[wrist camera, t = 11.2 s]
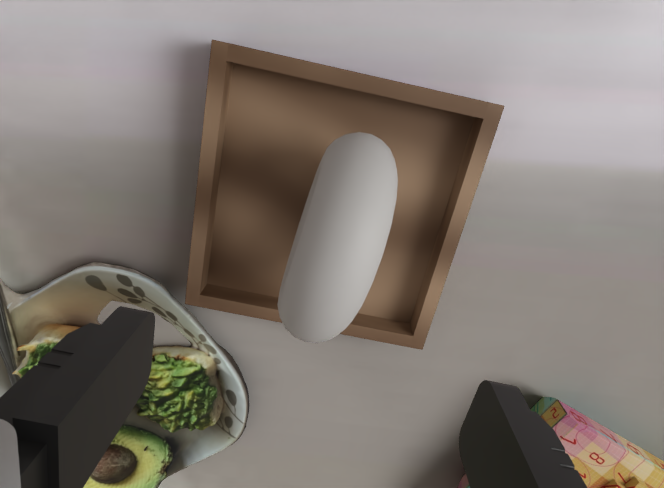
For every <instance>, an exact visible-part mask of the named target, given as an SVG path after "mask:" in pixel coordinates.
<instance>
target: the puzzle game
mask: <svg viewBox="0 0 664 488" xmlns="http://www.w3.org/2000/svg"><path fill="white" fill-rule="evenodd" d="M530 410H531V411H534V412H537V413H538V414H539V415H540V416H541V417H542V418H543V419H544V420H545V421H546V422H547V423H548V424H549V425H550V426H551V427H552V429H553V430H554V431H555V433H556V434H557V436H558V438H559V439H560V441H561V443H562V445H563V446H564V448H565V453H567V454H568V455H569V457H570V458H571V460H572V462H573V464H574V465H575V470H577V471H578V472H579V474H580V476H581V477H582V479H583V481H584V483H585V484H586V486H587V488H664V461H662V460H660V459H659V458H657V457H655V456H653V455H652V454H650V453H648V452H647V451H645V450H643V449H641V448H640V447H638V446H636V445H635V444H633V443H631V442H629V441H628V440H626V439H624V438H623V437H621V436H619V435H617V434H616V433H614V432H612V431H611V430H609V429H607V428H605V427H604V426H602V425H600V424H599V423H597V422H595V421H593V420H592V419H590V418H588V417H587V416H585V415H583V414H581V413H580V412H578V411H576V410H575V409H573V408H571V407H569V406H568V405H566V404H564V403H563V402H561V401H559V400H557V399H555V398H551V397H542V398H541V399H540V400H539V401H538V402H537V403H536V404H535V405H534V406H533V407H532V408H531V409H530ZM457 488H470V486H469V482H468V479H467V476H466V474H465V475H464V476H463V477H462V478H461V481H460V483H459V485H458V487H457Z"/></svg>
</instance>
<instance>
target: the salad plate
mask: <svg viewBox="0 0 664 488" xmlns="http://www.w3.org/2000/svg"><path fill="white" fill-rule="evenodd" d="M110 301H119V302H125V303H130V304H134V305H137V306H139V307H141V308H144V309H147V310H150V311H152V312H154V313H156V314H158V315H159V316H161V317H162V318H163V319H164V320H166V321H168V322H170V323H171V324H172V325H173V326H174V327H175V328H176V329H177V330H178V331H179V332H181V333H182V334H183V335H184V336H185V337H186V338H187V339H188V340H189V341H190V343H191V344H192V346H191V347H182V346H180V345H177V346H171V347H169V346H163V347H155V348H153V353H152V366H151V372H150V376H149V379H148V382H147V385H146V387H145V389H144V391H143V393H142V395H141V396H140V398H139V399H138V401H137V403H136V404H135V406H134V407H133V409H132V411H131V412H130V414H129V415H128V417H127V419H126V420H125V422H124V423H123V425H122V426H121V428H120V430H119V431H118V433H117V434H116V436H115V438H114V439H113V441H112V442H111V444H110V446H109V447H108V449H107V450H106V452H105V454H104V455H103V457H102V458H101V460H100V461H99V463H98V465H97V466H96V468H95V469H94V471H93V473H92V474H91V476H90V477H89V479H88V481H87V482H86V484H85V485H84V487H83V488H158V487H159V485H160V483H161V482H162V481H163V480H164V479H165V478H166V477H168V476H170V475H172V474H174V473H176V472H178V471H180V470H182V469H184V468H187V467H188V466H190V465H192V464H195V463H198V462H200V461H202V460H203V459H205V458H208V457H210V456H212V455H214V454H216V453H218V452H220V451H222V450H223V449H225V448H227V447H228V446H230V445H232V444H233V443H235V442H236V441H237V440H238V439H239V437H240V436H241V435H242V433H243V431H244V429H245V427H246V422H247V418H248V412H249V395H248V390H247V386H246V383H245V381H244V379H243V376H242V373H241V371H240V369H239V367H238V366H237V364H236V362H235V361H234V359H233V357H232V356H231V355H230V354H229V353H228V352H227V351H226V350H225V349H224V348H222V347H221V346H219V345H218V344H217V343H216V342H215V341H214V339H213V338H212V337H211V336H210V335H209V334H208V333H207V332H206V330H205V329H204V327H203V326H202V325H201V324H200V323H199V321H198V320H197V318H196V317H195V316H194V315H193V314H192V313H191V312H190V311H189V310H188V309H187V308H186V307H184V306H183V305H182V304H181V303H180V302H179V301H178V300H176V299H175V298H174V297H173V296H172V295H171V294H170V293H169V292H168V291H167V289H166V288H165V287H164V286H163V285H162V284H161V283H159V282H158V281H156V280H154V279H153V278H151V277H149V276H146V275H144V274H142V273H141V272H138V271H136V270H134V269H130V268H126V267H122V266H117V265H110V264H105V263H101V262H92V263H89V264H85V265H82V266H79V267H77V268H75V269H74V270H73V271H71V272H69V273H67V274H64V275H61V276H59V277H58V278H56V279H53V280H52V281H51V282H50V283H48V284H46V285H44V286H43V287H41V288H40V289H37V290H34V291H32V292H29V293H25V294H19V293H15V292H14V291H12V290H11V289H10V288H8V287H7V286H6V285H5V284H4V282H3V281H2V280H1V279H0V397H1V396H2V395H3V394H5V393H6V392H7V391H8V390H9V389H10V388H11V387H12V386H13V385H14V384H15V383H16V382H17V381H18V380H19V379H20V378H21V377H22V376H23V375H25V374H26V373H27V372H28V371H29V370H30V369H31V368H32V367H33V366H34V365H37V364H38V361H39V360H40V359H41V358H42V357H44V356H45V355H46V354H47V353H48V352H51V349H52V348H53V347H54V346H55V345H56V344H57V343H58V342H59V341H60V340H61V339H62V338H64V337H65V336H66V335H67V334H68V333H70V332H72V331H74V330H76V329H78V328H80V327H83V326H85V325H87V324H89V323H94V324H99V323H98V321H97V317H98V315H99V314H100V312H101V310H102V309H103V308H104V307H105V306H106V305H107V304H108V303H109V302H110ZM99 325H101V324H99Z"/></svg>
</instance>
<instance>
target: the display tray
mask: <svg viewBox="0 0 664 488" xmlns="http://www.w3.org/2000/svg"><path fill="white" fill-rule="evenodd" d="M503 109H504V106H502V105H498V104H493V103H489V102H485V101H480V100H476V99H471V98H467V97H463V96H458V95H454V94H449V93H445V92H441V91H436V90H432V89H427V88H423V87H419V86H414V85H410V84H405V83H401V82H397V81H392V80H388V79H383V78H379V77H375V76H370V75H366V74H361V73H357V72H353V71H348V70H344V69H339V68H335V67H331V66H326V65H322V64H317V63H313V62H309V61H304V60H300V59H295V58H291V57H287V56H282V55H278V54H273V53H269V52H265V51H260V50H256V49H251V48H247V47H243V46H238V45H234V44H229V43H225V42H221V41H216V40H212V43H211V53H210V63H209V73H208V83H207V92H206V102H205V112H204V122H203V132H202V141H201V151H200V161H199V171H198V181H197V190H196V200H195V210H194V220H193V230H192V239H191V249H190V259H189V269H188V279H187V288H186V298H185V304H188V305H193V306H198V307H203V308H209V309H214V310H219V311H224V312H229V313H235V314H240V315H245V316H250V317H255V318H260V319H266V320H271V321H276V322H281V323H282V321H281V319H280V316H279V311H278V305H277V304H278V298H279V292H280V287H281V283H282V279H283V276H284V272H285V269H286V265H287V262H288V258H289V255H290V252H291V248H292V245H293V242H294V238H295V235H296V232H297V229H298V225H299V222H300V219H301V216H302V213H303V210H304V207H305V204H306V201H307V198H308V195H309V192H310V189H311V186H312V183H313V180H314V177H315V174H316V172H317V169H318V166H319V164H320V161H321V159H322V157H323V155H324V153H325V151H326V149H327V147H328V146H329V145H330V144H331V143H332V142H333V141H334V140H335V139H337V138H339V137H341V136H343V135H346V134H350V133H357V132H362V133H368V134H372V135H374V136H376V137H378V138H379V139H381V140H382V141H383V142H384V143H385V144H386V145H387V146H388V147H389V148H390V150H391V152H392V154H393V157H394V159H395V163H396V168H397V176H398V186H397V200H396V205H395V210H394V215H393V220H392V225H391V229H390V232H389V236H388V239H387V243H386V246H385V250H384V253H383V256H382V259H381V262H380V264H379V267H378V270H377V273H376V275H375V278H374V281H373V283H372V286H371V288H370V290H369V292H368V294H367V296H366V298H365V301H364V303H363V305H362V307H361V308H360V310H359V311H358V313H357V314H356V316H355V318H354V319H353V321H352V322H351V323H350V324H349V325H348V327H347V328H346V329H345V330H344V331H342V332H341V333H340V334H344V335H349V336H354V337H359V338H364V339H369V340H375V341H380V342H385V343H390V344H395V345H401V346H406V347H411V348H416V349H421V350H422V349H423V346H424V343H425V340H426V337H427V334H428V331H429V328H430V325H431V322H432V319H433V316H434V314H435V311H436V308H437V305H438V302H439V299H440V296H441V293H442V290H443V287H444V284H445V281H446V278H447V275H448V272H449V269H450V266H451V263H452V260H453V257H454V254H455V251H456V248H457V245H458V242H459V239H460V236H461V233H462V231H463V228H464V225H465V222H466V219H467V216H468V213H469V210H470V207H471V204H472V201H473V198H474V195H475V192H476V189H477V186H478V183H479V180H480V177H481V174H482V171H483V168H484V165H485V162H486V159H487V156H488V153H489V150H490V148H491V145H492V142H493V139H494V136H495V133H496V130H497V127H498V124H499V121H500V118H501V115H502V112H503Z"/></svg>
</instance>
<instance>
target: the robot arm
mask: <svg viewBox="0 0 664 488" xmlns="http://www.w3.org/2000/svg"><path fill="white" fill-rule="evenodd" d="M154 327H155V316H154V313H152V312H147V311H142V310H137V309H132V308H127V307H122V306H121V307H118V308H117V309H116V310H115V311H114V312H113V313H112V314H111V315H110V316H109V317H108V318H107V319H106V320H105V321H104V322H103V323H102V325H99V324H94V323H89V324H87V325H85V326H83V327H80V328H78V329H76V330H74V331H72V332H70V333H68V334H67V335H66V336H65V337H64V338H62V339H61V340H60V341H59V342H58V343H57V344H56V345H55V346H54V347H53V348H52V349H51V352H48V353H47V354H46V355H45V356H44V357H42V358H41V359H40V360H39V361H38V364H37V365H34V366H33V367H32V368H31V369H30V370H29V371H28V372H27V373H26V374H25V375H23V376H22V377H21V378H20V379H19V380H18V381H17V382H16V383H15V384H14V385H13V386H12V387H11V388H10V389H9V390H8V391H7V392H6V393H5V394H3V395H2V396H1V397H0V488H83V487H84V485H85V484H86V482H87V481H88V479H89V477H90V476H91V474H92V473H93V471H94V469H95V468H96V466H97V465H98V463H99V461H100V460H101V458H102V457H103V455H104V454H105V452H106V450H107V449H108V447H109V446H110V444H111V442H112V441H113V439H114V438H115V436H116V434H117V433H118V431H119V430H120V428H121V426H122V425H123V423H124V422H125V420H126V419H127V417H128V415H129V414H130V412H131V411H132V409H133V407H134V406H135V404H136V403H137V401H138V399H139V398H140V396H141V395H142V393H143V391H144V389H145V387H146V385H147V382H148V379H149V376H150V372H151V366H152V353H153V340H154ZM459 450H460V455H461V459H462V462H463V465H464V469H465V472H466V476H467V479H468V482H469V486H470V488H587V486H586V484H585V483H584V481H583V479H582V477H581V476H580V474H579V472H578V471H577V470H575V465H574V464H573V462H572V460H571V458H570V457H569V455H568V454H567V453H565V448H564V446H563V445H562V443H561V441H560V439H559V438H558V436H557V434H556V433H555V431H554V430H553V429H552V427H551V426H550V425H549V424H548V423H547V422H546V421H545V420H544V419H543V418H542V417H541V416H540V415H539V414H538V413H537V412H534V411H531V410H530V408H529V406H528V404H527V403H526V401H525V399H524V397H523V395H522V393H521V392H520V390H519V389H518V388H517V387H516V386H512V385H507V384H502V383H497V382H492V381H487V380H485V381H483V382H482V383H481V384H480V385H479V387H478V390H477V392H476V394H475V397H474V399H473V401H472V404H471V406H470V408H469V411H468V413H467V415H466V418H465V420H464V423H463V425H462V428H461V431H460V437H459Z"/></svg>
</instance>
